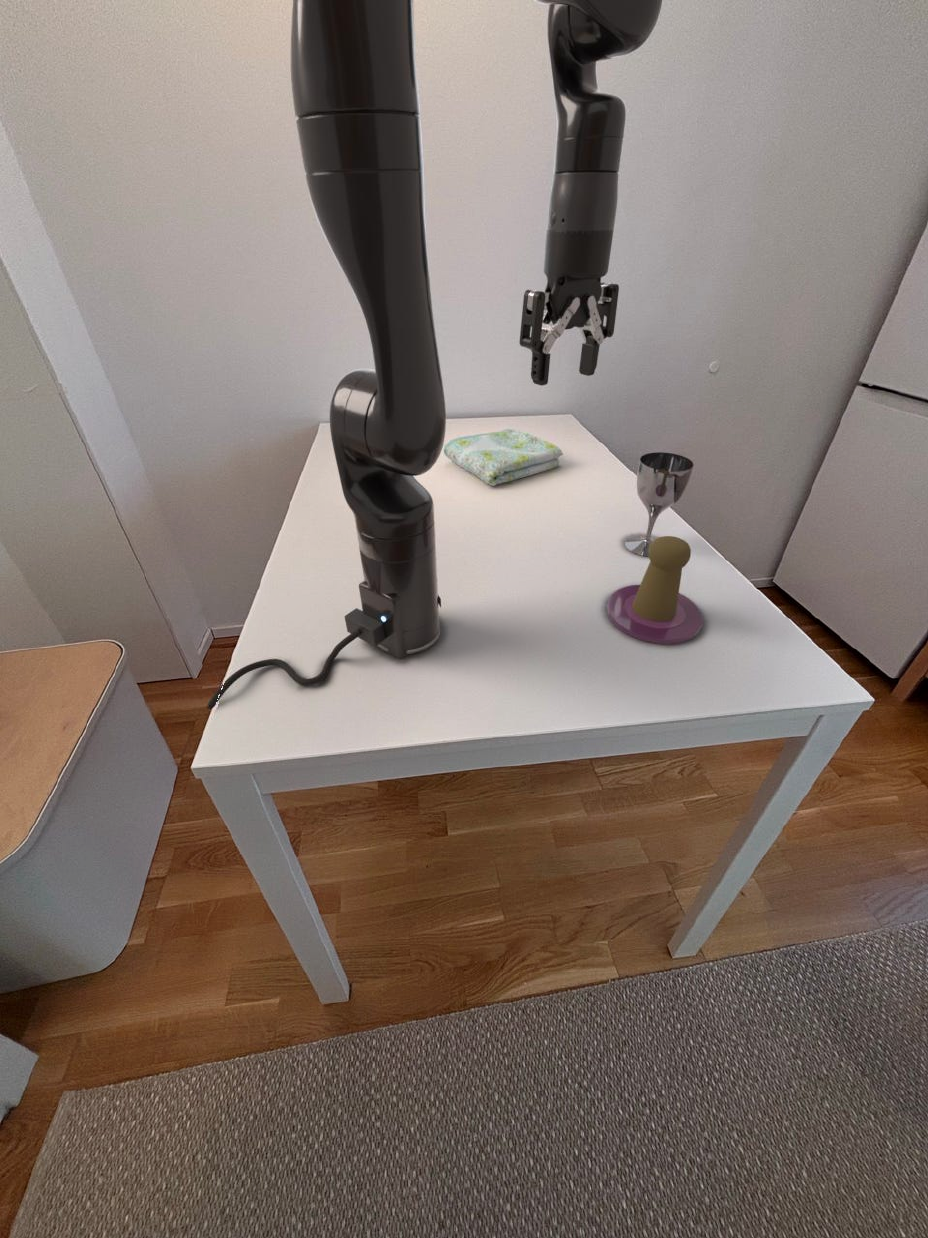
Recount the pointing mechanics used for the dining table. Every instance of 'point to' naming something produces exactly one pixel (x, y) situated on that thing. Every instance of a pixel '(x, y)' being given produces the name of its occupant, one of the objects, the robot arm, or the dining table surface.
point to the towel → (503, 455)
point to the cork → (662, 579)
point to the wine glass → (658, 490)
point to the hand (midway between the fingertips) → (563, 379)
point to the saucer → (651, 631)
